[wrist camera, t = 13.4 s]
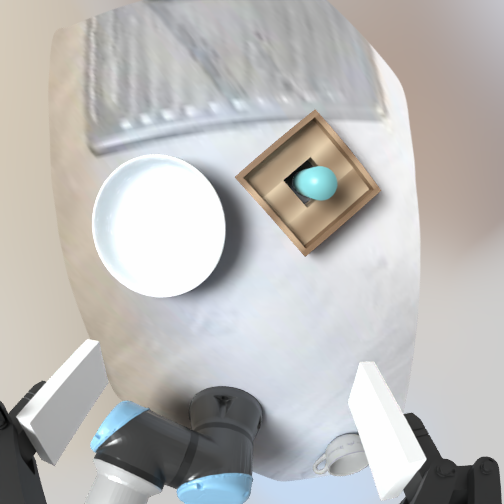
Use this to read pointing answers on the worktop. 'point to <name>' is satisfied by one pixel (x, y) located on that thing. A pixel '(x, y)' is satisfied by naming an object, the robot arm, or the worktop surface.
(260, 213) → the worktop surface
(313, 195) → the peg
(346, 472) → the teacup
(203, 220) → the serving bowl
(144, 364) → the worktop surface
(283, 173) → the bore box
